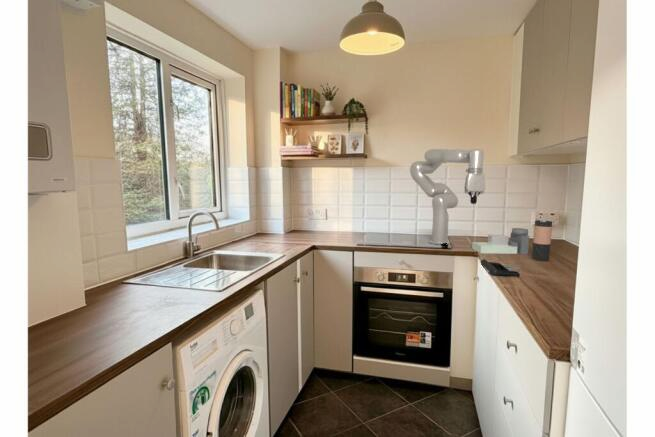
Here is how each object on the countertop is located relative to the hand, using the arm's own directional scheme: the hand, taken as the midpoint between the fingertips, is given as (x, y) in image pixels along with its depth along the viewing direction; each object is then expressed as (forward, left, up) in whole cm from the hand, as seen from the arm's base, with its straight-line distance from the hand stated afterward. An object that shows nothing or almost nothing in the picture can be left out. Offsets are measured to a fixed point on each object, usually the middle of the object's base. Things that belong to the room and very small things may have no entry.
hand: (473, 203), depth 192 cm
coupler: (+3, +16, -27) cm, 32 cm away
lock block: (+3, +14, -23) cm, 27 cm away
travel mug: (+22, +27, -27) cm, 44 cm away
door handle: (+45, -4, -28) cm, 53 cm away
